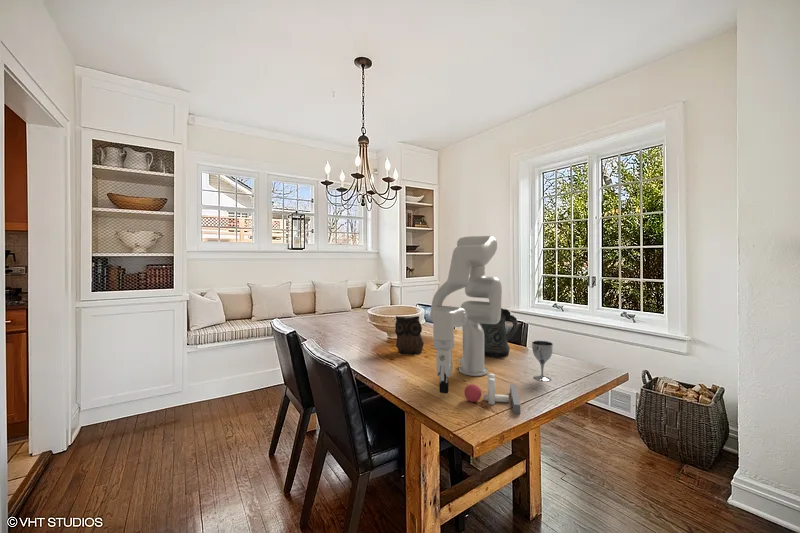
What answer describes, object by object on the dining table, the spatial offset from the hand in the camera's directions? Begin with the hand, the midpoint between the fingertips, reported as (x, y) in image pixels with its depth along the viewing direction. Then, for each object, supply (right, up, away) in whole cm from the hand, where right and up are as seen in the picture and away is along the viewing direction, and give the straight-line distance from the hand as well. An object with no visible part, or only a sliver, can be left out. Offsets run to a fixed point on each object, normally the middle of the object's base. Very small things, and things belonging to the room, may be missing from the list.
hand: (444, 392), depth 130 cm
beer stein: (+34, +1, +55) cm, 65 cm away
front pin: (+14, 0, -3) cm, 14 cm away
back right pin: (+16, -2, -6) cm, 17 cm away
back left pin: (+17, -1, -2) cm, 17 cm away
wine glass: (+43, -1, +17) cm, 47 cm away
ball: (+10, +1, -5) cm, 11 cm away
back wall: (+24, -1, -6) cm, 25 cm away
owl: (-11, 0, +59) cm, 60 cm away
